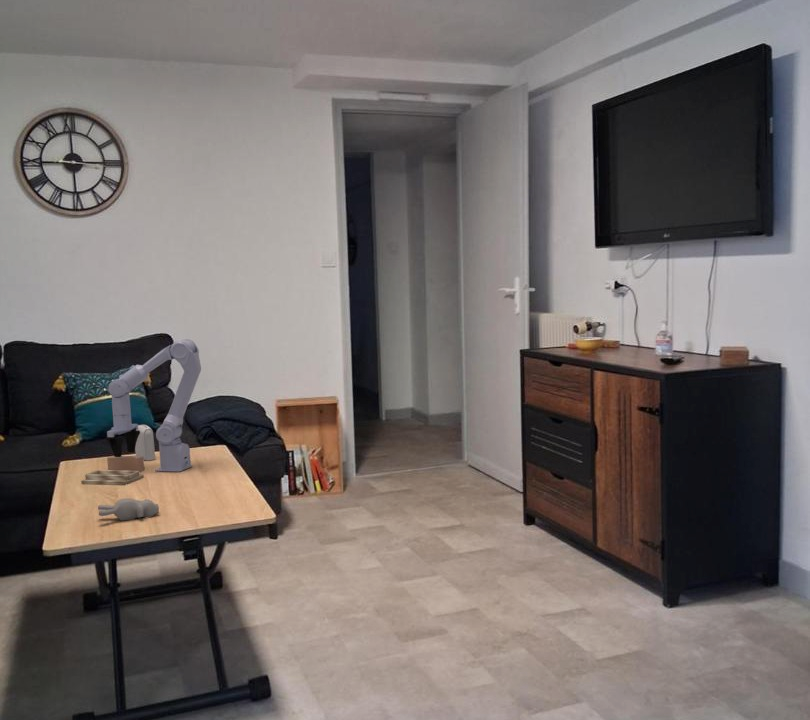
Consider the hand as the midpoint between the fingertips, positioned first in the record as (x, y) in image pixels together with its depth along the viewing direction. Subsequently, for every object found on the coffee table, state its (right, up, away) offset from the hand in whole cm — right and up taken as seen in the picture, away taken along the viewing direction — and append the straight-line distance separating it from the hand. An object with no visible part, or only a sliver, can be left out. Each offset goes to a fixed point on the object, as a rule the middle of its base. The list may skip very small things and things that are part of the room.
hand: (124, 454), depth 274 cm
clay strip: (0, -6, +1) cm, 6 cm away
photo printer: (+1, -4, +20) cm, 20 cm away
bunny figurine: (+21, -11, -58) cm, 63 cm away
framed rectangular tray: (+1, -7, -13) cm, 15 cm away
